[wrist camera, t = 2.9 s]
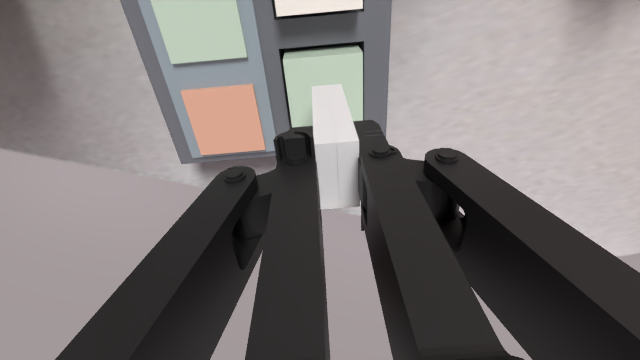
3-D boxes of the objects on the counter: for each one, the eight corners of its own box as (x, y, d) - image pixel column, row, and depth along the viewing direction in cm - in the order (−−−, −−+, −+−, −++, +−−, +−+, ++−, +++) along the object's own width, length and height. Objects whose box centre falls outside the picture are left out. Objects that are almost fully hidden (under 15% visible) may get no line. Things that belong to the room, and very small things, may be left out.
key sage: (285, 50, 19) (282, 59, 17) (356, 44, 19) (362, 52, 17) (294, 117, 21) (292, 133, 19) (357, 112, 21) (363, 127, 19)
